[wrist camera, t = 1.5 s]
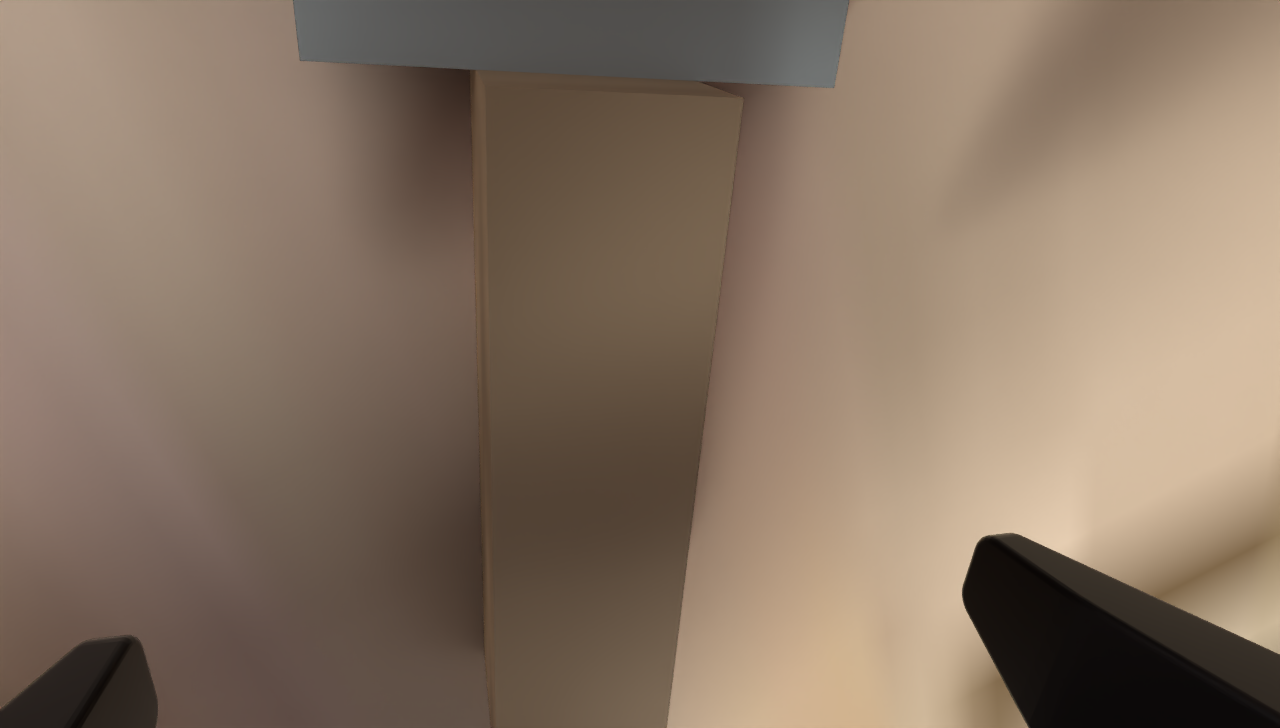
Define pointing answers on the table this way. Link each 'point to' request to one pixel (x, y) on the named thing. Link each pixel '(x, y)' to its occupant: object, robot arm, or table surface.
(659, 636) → the turner
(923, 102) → the table surface
